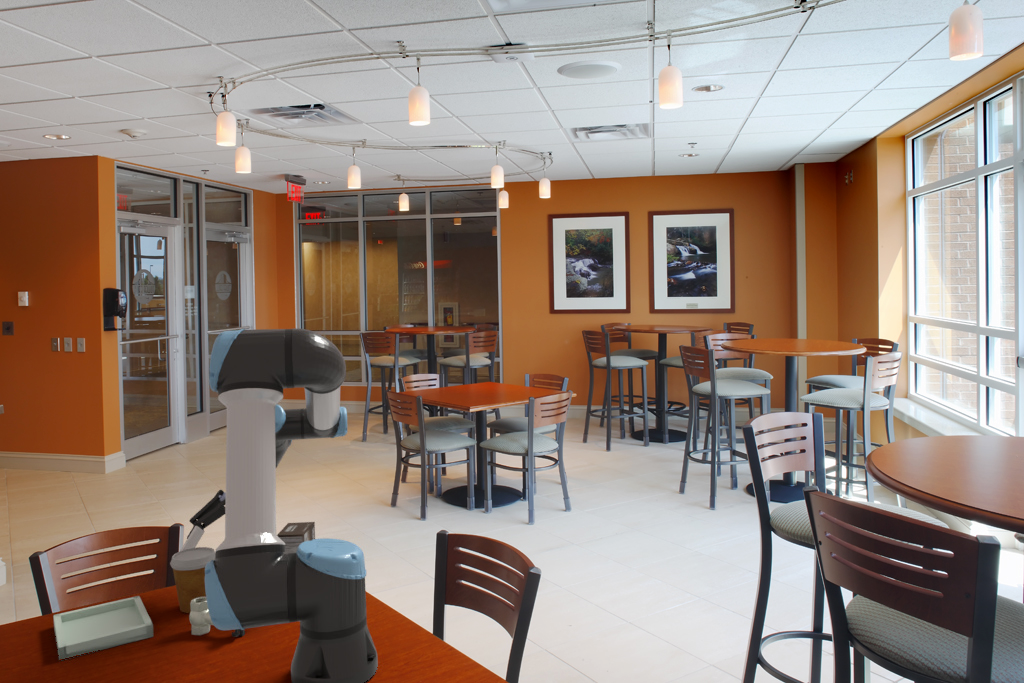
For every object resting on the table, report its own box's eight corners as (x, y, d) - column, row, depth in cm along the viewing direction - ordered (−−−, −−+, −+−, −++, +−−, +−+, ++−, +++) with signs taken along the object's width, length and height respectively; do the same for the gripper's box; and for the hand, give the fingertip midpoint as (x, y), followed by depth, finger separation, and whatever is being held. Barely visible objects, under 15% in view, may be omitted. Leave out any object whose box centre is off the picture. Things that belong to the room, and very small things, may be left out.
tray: (153, 636, 141) (152, 624, 141) (59, 661, 132) (58, 648, 132) (139, 606, 156) (139, 595, 156) (53, 626, 146) (53, 615, 146)
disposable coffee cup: (227, 599, 159) (225, 547, 158) (202, 617, 150) (199, 562, 149) (189, 597, 161) (187, 545, 160) (162, 614, 151) (159, 560, 151)
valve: (181, 638, 141) (233, 643, 138) (179, 605, 140) (232, 610, 137) (202, 623, 147) (253, 628, 144) (201, 592, 147) (252, 597, 144)
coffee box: (290, 589, 164) (287, 521, 163) (317, 588, 164) (315, 521, 163) (278, 606, 155) (276, 534, 154) (307, 605, 155) (305, 533, 154)
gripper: (301, 490, 169) (257, 573, 156) (224, 481, 179) (177, 558, 166) (284, 473, 164) (237, 557, 151) (206, 465, 174) (156, 543, 161)
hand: (205, 558), depth 159 cm, fingers open, 13 cm apart
